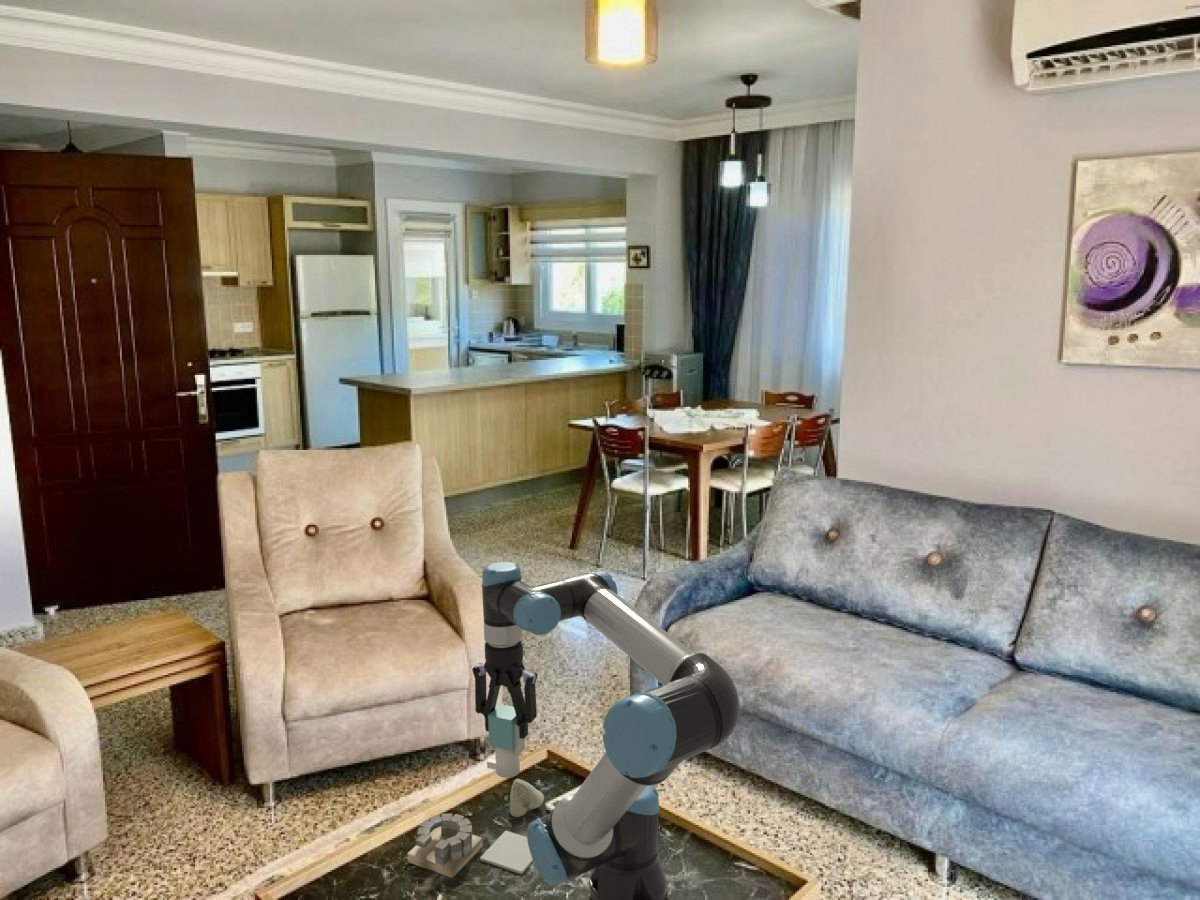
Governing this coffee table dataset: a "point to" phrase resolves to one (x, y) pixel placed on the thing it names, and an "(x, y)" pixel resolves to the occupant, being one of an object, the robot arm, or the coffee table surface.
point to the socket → (444, 844)
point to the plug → (503, 741)
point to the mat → (509, 853)
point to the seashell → (524, 798)
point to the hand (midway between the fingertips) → (507, 748)
